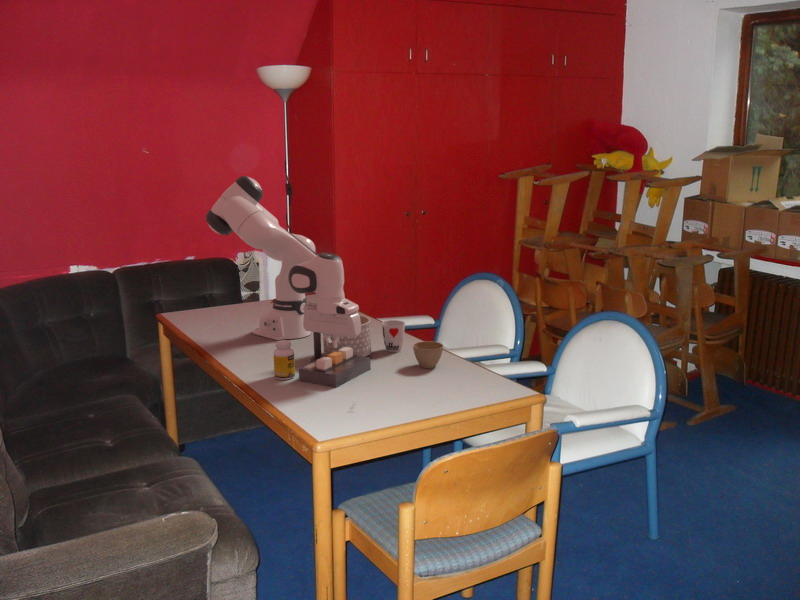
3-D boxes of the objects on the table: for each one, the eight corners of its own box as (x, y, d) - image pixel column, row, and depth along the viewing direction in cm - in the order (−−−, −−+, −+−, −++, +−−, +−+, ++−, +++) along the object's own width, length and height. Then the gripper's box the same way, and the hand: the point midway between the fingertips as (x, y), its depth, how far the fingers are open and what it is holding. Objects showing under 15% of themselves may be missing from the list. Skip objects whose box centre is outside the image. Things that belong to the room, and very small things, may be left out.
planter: (380, 356, 261) (379, 321, 258) (340, 366, 251) (339, 329, 248) (354, 346, 273) (353, 312, 270) (314, 354, 264) (313, 319, 261)
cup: (378, 351, 266) (377, 324, 264) (389, 345, 273) (388, 319, 271) (398, 354, 262) (398, 327, 260) (409, 348, 269) (408, 321, 267)
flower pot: (433, 372, 243) (433, 351, 242) (407, 367, 249) (407, 346, 247) (448, 364, 252) (448, 343, 250) (423, 359, 257) (422, 339, 255)
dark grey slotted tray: (299, 380, 237) (298, 367, 236) (335, 363, 254) (334, 350, 253) (336, 387, 230) (335, 374, 229) (370, 369, 247) (370, 356, 246)
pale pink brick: (338, 358, 245) (338, 350, 245) (345, 355, 249) (345, 346, 248) (346, 359, 244) (345, 351, 243) (352, 356, 247) (352, 348, 247)
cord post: (307, 362, 255) (305, 316, 251) (316, 358, 259) (314, 313, 255) (319, 364, 252) (318, 318, 249) (328, 360, 257) (326, 315, 253)
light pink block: (316, 368, 235) (316, 360, 235) (324, 365, 239) (323, 356, 238) (324, 370, 234) (324, 361, 233) (331, 366, 237) (331, 357, 236)
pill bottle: (286, 381, 236) (284, 346, 233) (270, 378, 239) (268, 343, 237) (299, 376, 241) (297, 341, 239) (283, 372, 245) (282, 338, 242)
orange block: (327, 363, 240) (327, 354, 240) (334, 359, 244) (334, 351, 243) (335, 364, 239) (335, 356, 238) (342, 361, 242) (342, 352, 242)
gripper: (298, 303, 240) (299, 345, 243) (352, 310, 230) (353, 354, 233) (309, 299, 245) (311, 340, 248) (363, 306, 235) (364, 348, 238)
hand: (332, 347), depth 241 cm, fingers closed
